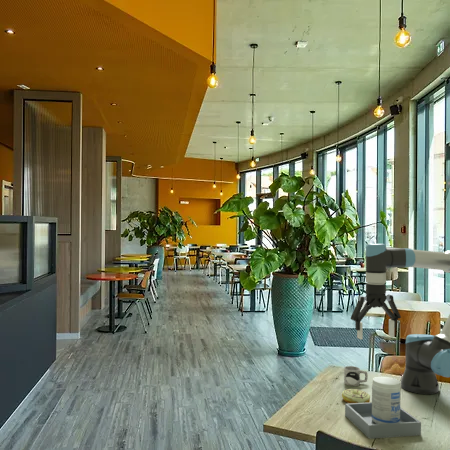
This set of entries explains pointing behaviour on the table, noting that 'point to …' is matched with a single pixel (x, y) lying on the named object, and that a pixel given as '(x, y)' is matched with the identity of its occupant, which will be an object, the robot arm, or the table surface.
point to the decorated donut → (355, 396)
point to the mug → (353, 376)
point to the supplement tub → (386, 400)
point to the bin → (363, 420)
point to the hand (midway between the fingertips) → (375, 337)
